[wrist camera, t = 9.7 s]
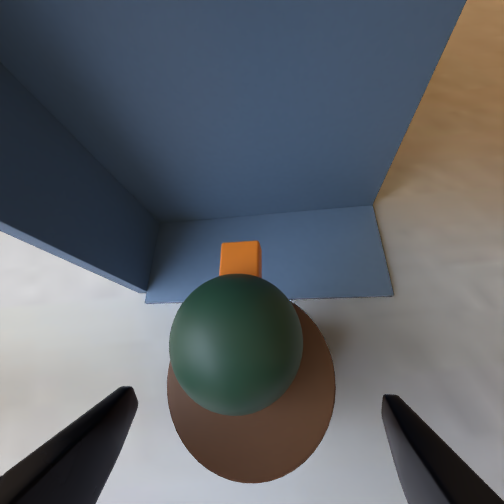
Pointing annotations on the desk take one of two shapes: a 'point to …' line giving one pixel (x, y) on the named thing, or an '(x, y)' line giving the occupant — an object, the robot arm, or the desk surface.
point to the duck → (248, 374)
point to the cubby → (211, 134)
